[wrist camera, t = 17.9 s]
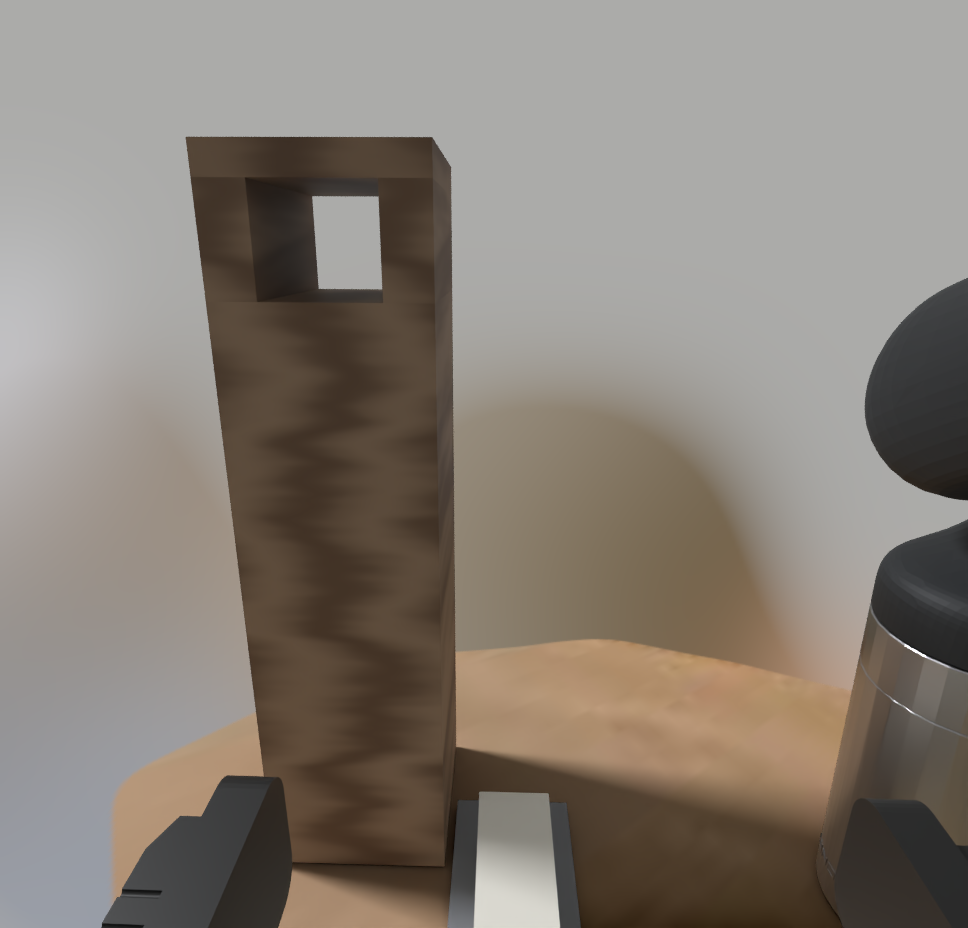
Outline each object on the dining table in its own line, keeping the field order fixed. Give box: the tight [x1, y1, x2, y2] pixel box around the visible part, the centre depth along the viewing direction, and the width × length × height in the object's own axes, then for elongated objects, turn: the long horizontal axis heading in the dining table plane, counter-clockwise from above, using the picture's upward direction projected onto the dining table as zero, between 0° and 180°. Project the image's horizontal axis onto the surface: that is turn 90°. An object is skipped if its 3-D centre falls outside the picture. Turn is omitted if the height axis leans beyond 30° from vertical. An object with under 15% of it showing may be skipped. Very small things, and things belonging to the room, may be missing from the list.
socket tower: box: [186, 137, 456, 867], centre depth 37 cm, size 10×10×38 cm
